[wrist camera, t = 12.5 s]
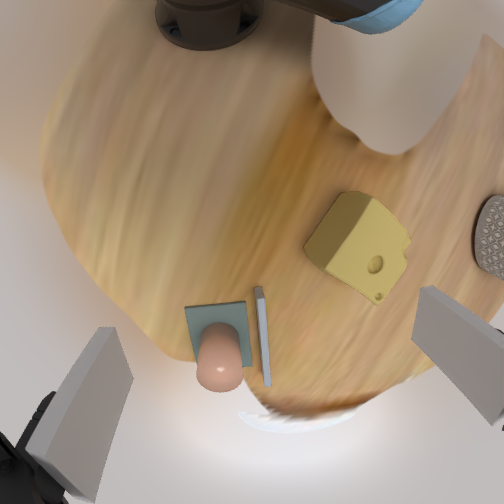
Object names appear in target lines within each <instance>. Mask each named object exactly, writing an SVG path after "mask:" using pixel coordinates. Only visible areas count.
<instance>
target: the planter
mask: <svg viewBox="0 0 504 504" xmlns="http://www.w3.org/2000/svg"><path fill="white" fill-rule="evenodd" d="M475 255H476V259H477V262H478V264H479V266H480V267H481V268H482V269H483V270H484V271H486V272H488V273H490V274H492V275H494V276H496V277H498V278H500V279H502V280H504V196H503V195H495V196H493V197H491V198H490V199H489V200H488V201H487V203H486V204H485V205H484V207H483V209H482V211H481V214H480V216H479V219H478V223H477V227H476V233H475Z"/></svg>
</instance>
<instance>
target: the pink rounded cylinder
mask: <svg viewBox="0 0 504 504" xmlns="http://www.w3.org/2000/svg"><path fill="white" fill-rule="evenodd" d="M196 375H197V380H198V382H199V383H200V384H201V385H202V386H203V387H204V388H206V389H208V390H210V391H213V392H227V391H231V390H233V389H235V388H237V387H238V386H239V385H240V384H241V382H242V380H243V368H242V359H241V349H240V339H239V334H238V332H237V330H236V329H235V328H234V327H233V326H231V325H229V324H227V323H221V322H217V323H212V324H210V325H208V326H207V327H205V328H204V330H203V331H202V333H201V338H200V346H199V355H198V364H197V374H196Z"/></svg>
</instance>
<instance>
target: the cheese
mask: <svg viewBox="0 0 504 504" xmlns="http://www.w3.org/2000/svg"><path fill="white" fill-rule="evenodd" d="M410 242H411V239H410V237H409V233H408V231H407V230H406V229H405V228H404V227H403V226H402V225H401V223H400V222H399V221H398V220H397V219H396V218H395V217H394V216H393V215H392V213H391V212H390V211H389V210H388V209H387V208H386V207H385V206H384V205H383V204H382V203H381V202H379V201H378V200H377V199H375V198H374V197H372V196H370V195H368V194H365V193H363V192H359V191H349V192H343V193H341V194H340V195H339V197H338V198H337V200H336V201H335V202H334V204H333V205H332V207H331V208H330V209H329V211H328V212H327V214H326V215H325V217H324V218H323V219H322V221H321V222H320V224H319V225H318V227H317V228H316V230H315V231H314V233H313V234H312V236H311V237H310V239H309V240H308V241H307V243H306V244H305V245H304V250H305V253H306V255H307V257H308V258H309V260H310V261H311V262H312V263H313V264H314V265H315V266H316V267H318V268H319V269H320V270H322V271H324V272H325V273H327V274H329V275H331V276H333V277H335V278H337V279H339V280H341V281H342V282H344V283H346V284H347V285H349V286H351V287H352V288H354V289H355V290H357V291H358V292H360V293H361V294H362V295H364V296H365V297H366V298H368V299H369V300H370V301H371V302H372V303H374V304H375V305H377V306H378V305H379V304H380V303H381V302H382V301H383V299H384V298H385V297H386V295H387V294H388V293H389V291H390V290H391V289H392V287H393V286H394V285H395V283H396V282H397V280H398V279H399V277H400V276H401V274H402V273H403V271H404V270H405V268H406V266H407V263H408V261H407V258H406V255H405V251H406V248H407V247H408V245H409V244H410Z"/></svg>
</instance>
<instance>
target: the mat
mask: <svg viewBox="0 0 504 504" xmlns="http://www.w3.org/2000/svg"><path fill="white" fill-rule="evenodd" d="M185 313H186V318H187V323H188V327H189V332H190V337H191V341H192V345H193V350H194V354H195V358H196V362H197V364H198V355H199V346H200V338H201V333H202V331H203V330H204V328H205V327H207V326H208V325H210V324H212V323H217V322H221V323H227V324H229V325H231V326H233V327H234V328H235V329H236V330H237V332H238V334H239V339H240V349H241V359H242V367H250V366H252V357H251V348H250V339H249V330H248V321H247V311H246V302H245V301H240V302H231V303H221V304H211V305H200V306H189V307H185Z"/></svg>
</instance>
